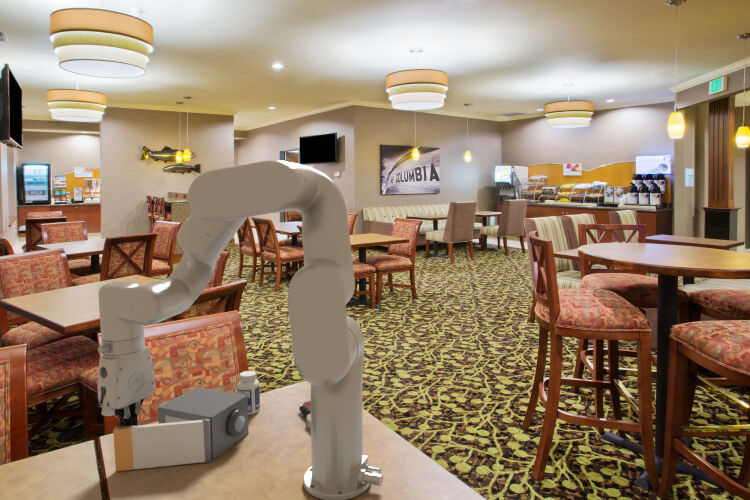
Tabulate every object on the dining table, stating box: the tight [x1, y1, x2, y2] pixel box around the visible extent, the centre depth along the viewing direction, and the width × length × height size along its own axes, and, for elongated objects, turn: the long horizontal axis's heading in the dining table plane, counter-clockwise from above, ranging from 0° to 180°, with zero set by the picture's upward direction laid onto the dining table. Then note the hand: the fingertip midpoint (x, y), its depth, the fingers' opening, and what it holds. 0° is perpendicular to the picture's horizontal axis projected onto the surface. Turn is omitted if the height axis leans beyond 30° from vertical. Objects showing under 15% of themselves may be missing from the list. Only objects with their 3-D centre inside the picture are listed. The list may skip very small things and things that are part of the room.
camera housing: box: [157, 386, 249, 461], centre depth 107 cm, size 16×12×9 cm
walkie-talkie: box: [298, 400, 311, 430], centre depth 115 cm, size 9×4×20 cm
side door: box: [112, 419, 213, 472], centre depth 97 cm, size 18×1×9 cm, turn 101°
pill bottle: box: [236, 370, 261, 416], centre depth 122 cm, size 5×5×10 cm
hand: (129, 434), depth 98 cm, fingers closed
